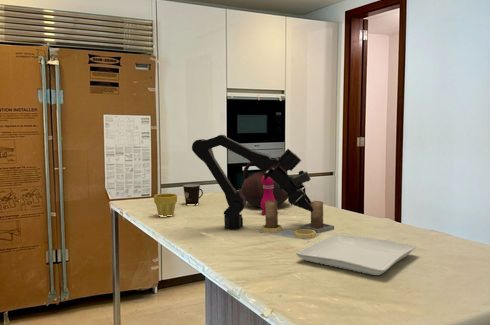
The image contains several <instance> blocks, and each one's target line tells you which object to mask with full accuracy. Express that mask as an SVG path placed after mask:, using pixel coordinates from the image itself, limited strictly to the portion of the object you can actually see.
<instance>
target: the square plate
mask: <svg viewBox="0 0 490 325" xmlns="http://www.w3.org/2000/svg"><path fill="white" fill-rule="evenodd" d="M416 248H417V246H416V245H413V244H408V243H403V242H399V241H398V242H397V241H393V240H387V239H383V238H382V239H381V238H375V237H369V236H361V235H356V234H355V235H353V234H345V233H335V234H332V235H329V236H328V237H326V238H323V239H321V240H319V241H317V242H315V243H313V244H310V245H309V246H306V247H304V248H302V249H300V250H299V251H297V252H296V253H295V254H296V256H298V257H299V258H301V259H302V260H303V261H307V262H311V263H315V264H319V263H320V265H323V264H324V266H328V265H329V267H333V266H334V267H333V268H337V267H339V268H338V269H342V268H343V269H342V270H347V269H348V271H351V270H353V271H352V272H356V271H357V273H361V272H362V274H367V275H371V276H372V275H373V276H380V275H382V274H384V273H385V272H386V271H388V270H389V269H390V268H391V267H392V266H393V265H395V264H396V263H397V262H399V261H401V260H402V259H404V258H406V257H407V256H408V255H410V253H412V251H413V250H415V249H416Z"/></svg>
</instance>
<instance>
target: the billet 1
mask: <svg viewBox="0 0 490 325" xmlns="http://www.w3.org/2000/svg"><path fill="white" fill-rule="evenodd" d="M278 206H279V205H278V203H277V201H274V200H270V201H265V215H264V216H265V225H266V228H278V225H279V224H278V223H279V222H278V221H279V218H278V217H279V214H278V213H279V211H278Z"/></svg>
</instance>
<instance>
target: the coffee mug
mask: <svg viewBox="0 0 490 325" xmlns="http://www.w3.org/2000/svg"><path fill="white" fill-rule="evenodd" d="M182 187H183V188H182V189H183V193H184V201H185V205H186V204H197V203H198V204H199V202H200V201H199V200H200V199H201V198H202V197H203V194H204V191H203V190H202V189H201V184H196V183H195V184H193V183H192V184H184V185H183V186H182ZM200 191H201V194H200Z"/></svg>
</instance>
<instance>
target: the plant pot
mask: <svg viewBox="0 0 490 325" xmlns="http://www.w3.org/2000/svg"><path fill="white" fill-rule="evenodd" d="M153 202H154V204H155V206H156V209H157V210H156V211H157V214H158V216H159V215H163V216H167V215H173V214H175V209H176V204H177V202H178V194H176V193H171V192H170V193H167V192H166V193H165V192H164V193H157V194H155V195H154V196H153ZM173 216H174V215H173Z"/></svg>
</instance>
